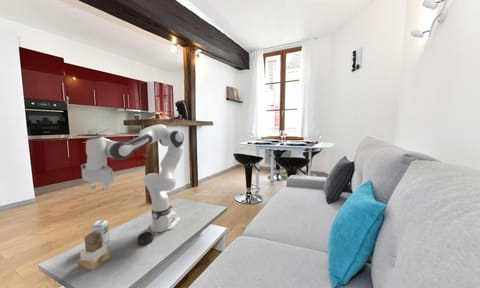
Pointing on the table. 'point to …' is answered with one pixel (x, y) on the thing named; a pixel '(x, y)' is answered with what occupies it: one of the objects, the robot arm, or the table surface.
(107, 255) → the oak base block
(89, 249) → the walnut block
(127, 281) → the table surface
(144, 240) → the smart speaker
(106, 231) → the syrup box
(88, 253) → the off-white top block
